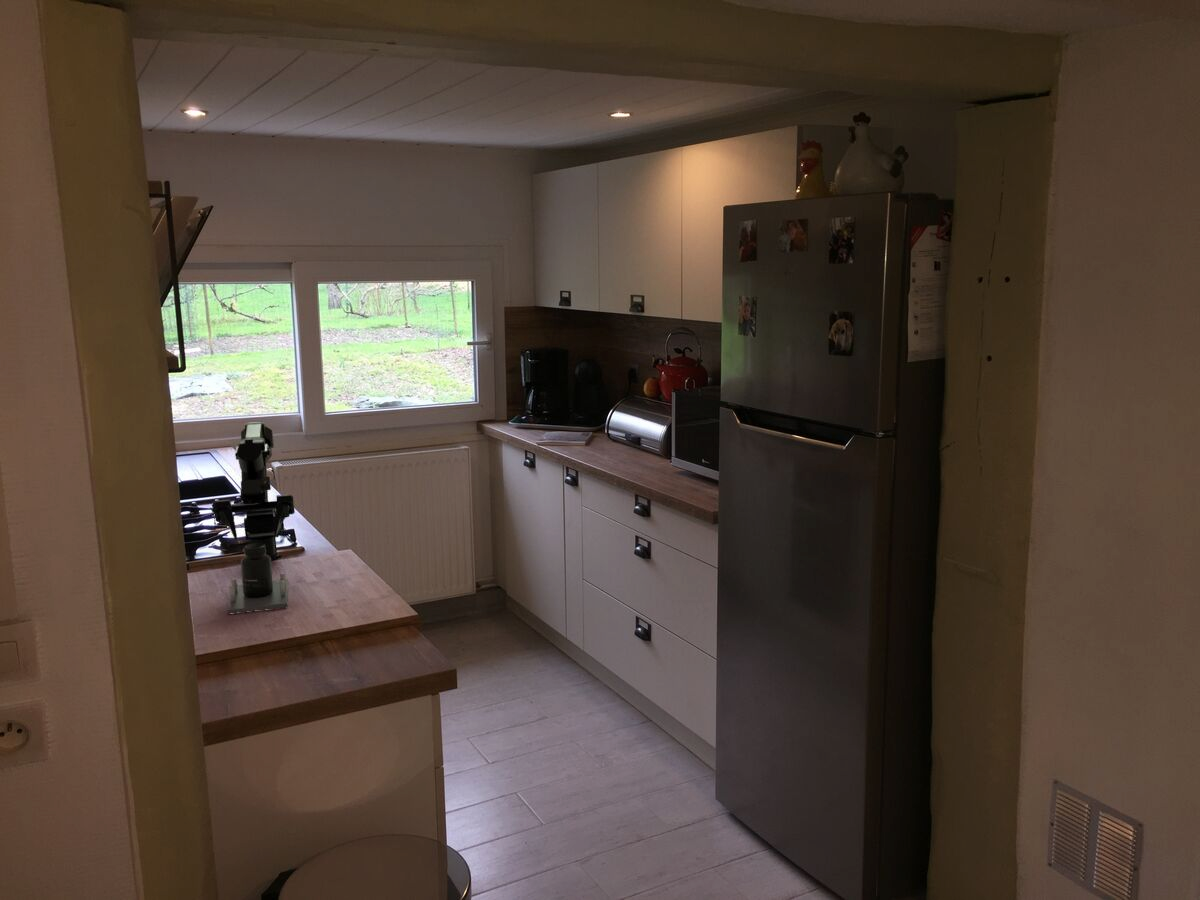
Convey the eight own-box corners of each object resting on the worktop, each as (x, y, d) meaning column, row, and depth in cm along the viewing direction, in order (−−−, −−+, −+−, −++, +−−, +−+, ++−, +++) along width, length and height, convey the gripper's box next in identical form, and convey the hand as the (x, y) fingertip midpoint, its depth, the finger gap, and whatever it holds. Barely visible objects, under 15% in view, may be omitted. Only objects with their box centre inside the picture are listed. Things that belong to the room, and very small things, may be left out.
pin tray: (233, 590, 239) (231, 571, 238) (288, 583, 242) (286, 565, 241) (227, 614, 222) (225, 595, 221) (287, 608, 225) (285, 588, 224)
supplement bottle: (246, 600, 227) (241, 551, 225) (241, 592, 233) (236, 544, 231) (276, 595, 230) (271, 547, 228) (271, 587, 236) (266, 539, 234)
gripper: (209, 469, 235) (210, 524, 227) (290, 462, 240) (293, 516, 232) (215, 493, 244) (216, 547, 236) (293, 486, 249) (296, 539, 241)
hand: (255, 537), depth 236 cm, fingers open, 9 cm apart
